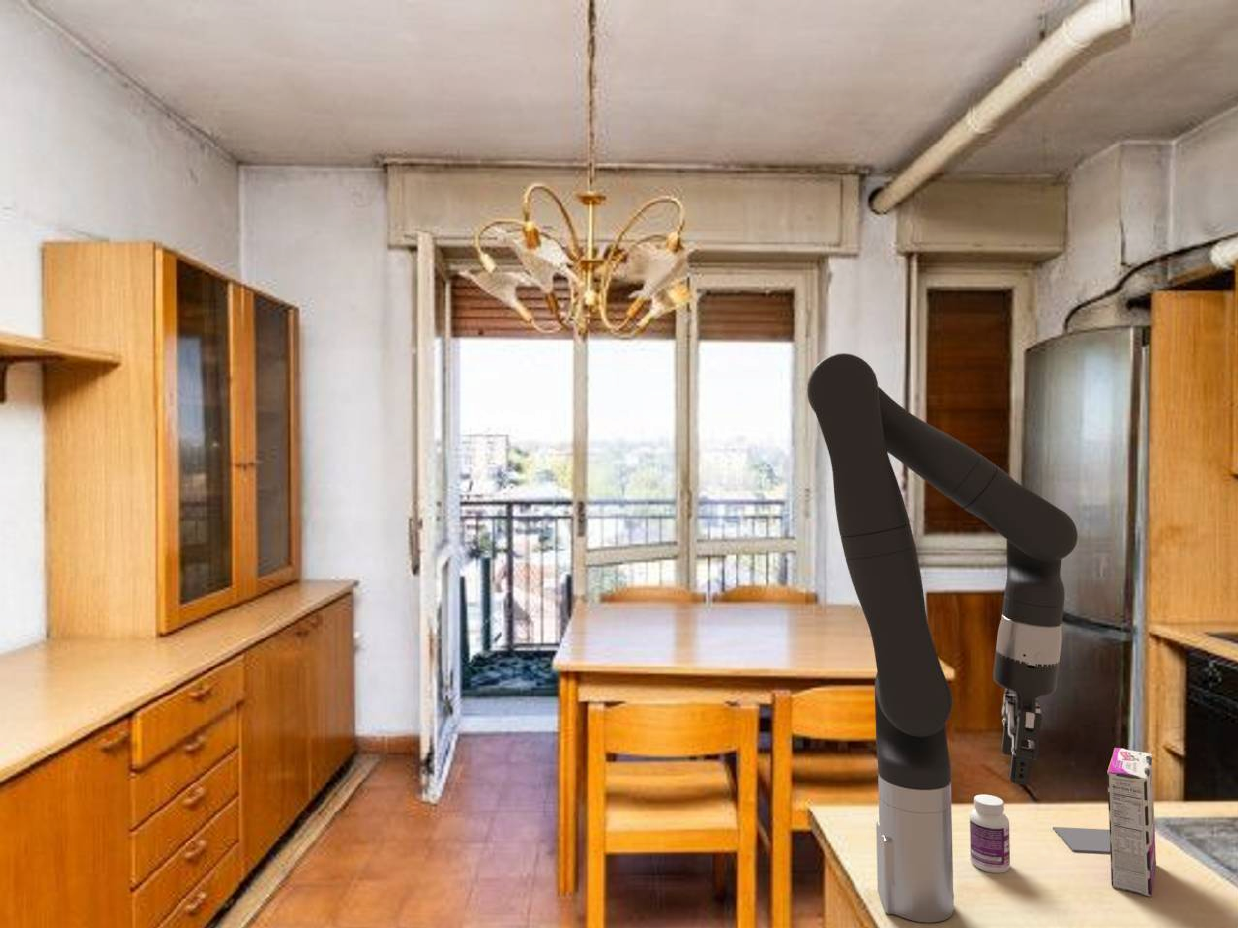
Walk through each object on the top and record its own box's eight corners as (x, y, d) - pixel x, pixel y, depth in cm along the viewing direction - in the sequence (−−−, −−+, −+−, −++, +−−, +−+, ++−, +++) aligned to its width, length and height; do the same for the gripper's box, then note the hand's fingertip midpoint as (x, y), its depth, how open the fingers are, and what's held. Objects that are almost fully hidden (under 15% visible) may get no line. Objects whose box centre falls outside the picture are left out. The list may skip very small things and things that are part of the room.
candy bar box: (1116, 854, 117) (1113, 746, 117) (1156, 864, 114) (1153, 752, 114) (1108, 887, 108) (1105, 769, 109) (1152, 899, 105) (1149, 777, 105)
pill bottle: (1015, 875, 112) (1013, 808, 112) (975, 872, 113) (973, 805, 113) (1004, 857, 117) (1003, 793, 117) (966, 854, 118) (965, 790, 118)
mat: (1072, 851, 119) (1072, 849, 119) (1052, 828, 126) (1052, 826, 126) (1151, 855, 117) (1151, 853, 117) (1126, 832, 124) (1126, 830, 124)
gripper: (990, 632, 111) (978, 740, 113) (1003, 664, 98) (989, 786, 100) (1049, 640, 109) (1036, 751, 111) (1070, 674, 96) (1055, 800, 97)
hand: (1014, 767), depth 105 cm, fingers open, 8 cm apart
